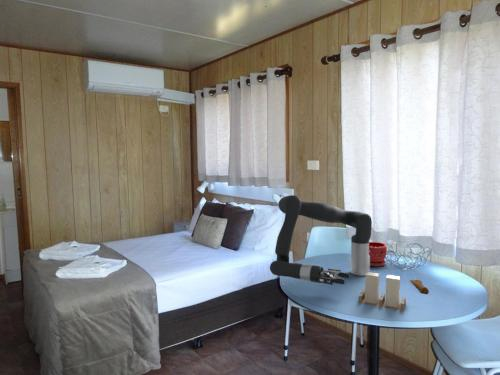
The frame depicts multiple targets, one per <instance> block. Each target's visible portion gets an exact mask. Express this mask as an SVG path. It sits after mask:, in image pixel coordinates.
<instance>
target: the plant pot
mask: <svg viewBox="0 0 500 375" xmlns="http://www.w3.org/2000/svg"><path fill="white" fill-rule="evenodd" d="M387 246H388V245H387V244H386V243H383V242H378V241H369V256H370V267H371V266H372V267H380V266H381V267H382V266H384V265H385V264H386V256H387Z"/></svg>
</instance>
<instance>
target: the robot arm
mask: <svg viewBox="0 0 500 375" xmlns="http://www.w3.org/2000/svg"><path fill="white" fill-rule="evenodd" d="M277 205H278V208H279V211H280V212H282V213H283V214H284V220H283V223H282V227H281V228H280V230H279V233H278V235H277V238H276V244H275V248H274V249H275V251H274V253H275V255H276V260H273V261H272V262H271V263H270V265H269V270H270V273H271V274H273V275H274V276H279V277H289V278H293V279H298V280H303V281H306V282H310V283H311V282H312V283H317V284H325V285H334V284H337V285H338V284H339V285H345V284H346V282H345V279H347V280H348V279H350V273H351V274H352V275H355V276H359V277H360V276H362V277H363V276H366V273H367V272H371V271H370V270H371V265H370V256H369V242H370V239H371V238H372V236H371V235H372V226H373V224H372V223H373V222H372V220H373V219H372V217H371V215H369V214H368V213H365V212H361V211H357V210H356V211H355V210H345V209H342V208H340V207H337V206H335V205H331V204H327V203H322V202H313V201H312V202H310V201H302V200H301V199H300V197H299V196H297V195H295V194H294V195H293V194H292V195H286V196H283V197H281V199H280V200H279V201H278V204H277ZM299 216H302V217H306V218H309V219H312V220H315V221H320V222H324V223H329V224H344V225H346V226H349V227H351V228H354V229H355V233H354V234H353V235H351V237H350V238H351V239H350V244H351V245H350V273H348V272H342V270H341V269H336V268H335V269H334V268H327V269H326V270H325V269H324V266H322V265H315V264H314V265H313V264H307V263H306V264H305V263H297V262H290V250H291V246H292V239H293V234H294V230H295V227H296V225H297V221H298V218H299Z"/></svg>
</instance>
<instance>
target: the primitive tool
mask: <svg viewBox="0 0 500 375" xmlns="http://www.w3.org/2000/svg"><path fill="white" fill-rule="evenodd" d="M409 280H410V281H411V282H412V283H413V284H412V283H411V282H410V281H409V282H410V283H411V284H412V285H413V286H414V287H416V288H417V289H418V290H420V294H423V295H428V294H429V293H430V291H429V289H428V287H425V286H424V285H423V284H422V283H423V282H422V280H420V279H415V280H414V279H409ZM421 282H422V283H421Z"/></svg>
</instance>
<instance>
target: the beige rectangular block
mask: <svg viewBox="0 0 500 375" xmlns="http://www.w3.org/2000/svg"><path fill="white" fill-rule="evenodd" d="M364 280H365V282H364V285H365V286H364V287H365V288H364V290H365V302H367V303H373V304H378V302H379V299H380V273H376V272H371V271H370V272H367V273H366V275H365V279H364Z"/></svg>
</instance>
